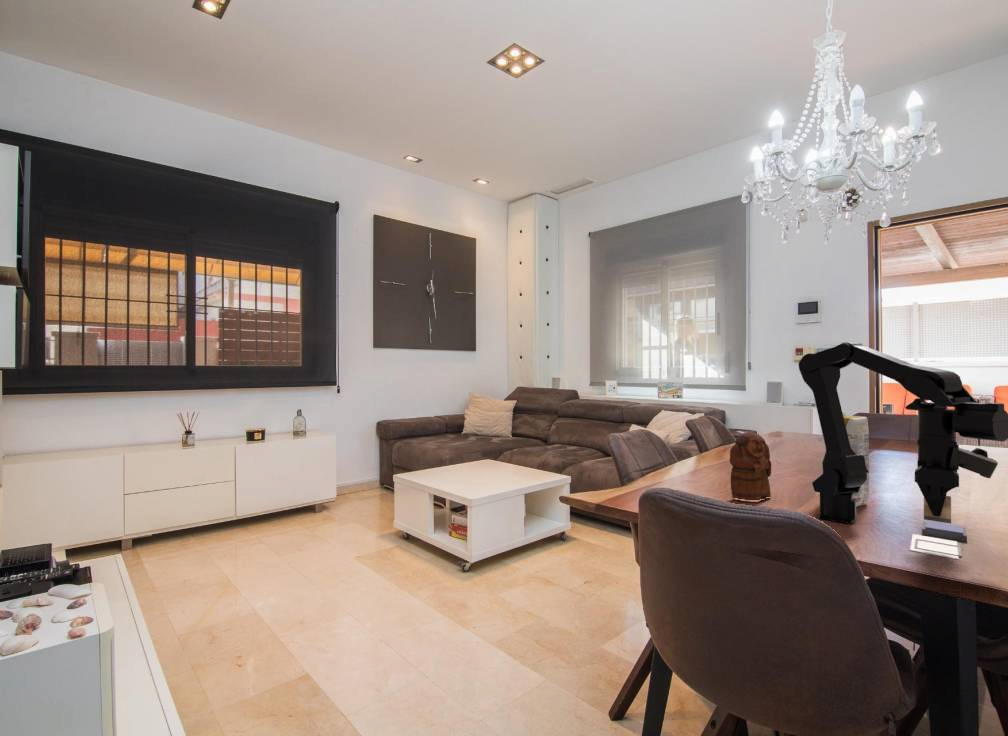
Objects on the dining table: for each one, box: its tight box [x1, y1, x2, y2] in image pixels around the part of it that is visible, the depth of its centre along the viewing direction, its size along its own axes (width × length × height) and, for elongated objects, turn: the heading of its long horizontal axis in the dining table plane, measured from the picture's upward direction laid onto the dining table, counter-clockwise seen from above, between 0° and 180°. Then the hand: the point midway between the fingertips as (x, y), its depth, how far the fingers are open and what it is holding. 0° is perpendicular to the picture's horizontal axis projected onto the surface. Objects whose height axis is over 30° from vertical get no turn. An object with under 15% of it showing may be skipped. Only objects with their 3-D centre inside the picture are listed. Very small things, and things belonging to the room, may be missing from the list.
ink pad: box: [921, 520, 968, 543], centre depth 107 cm, size 7×7×2 cm
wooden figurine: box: [729, 432, 772, 500], centre depth 135 cm, size 12×6×18 cm, turn 119°
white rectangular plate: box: [909, 533, 962, 560], centre depth 99 cm, size 7×12×1 cm, turn 139°
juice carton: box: [824, 411, 870, 508], centre depth 130 cm, size 9×8×24 cm
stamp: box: [923, 495, 952, 524], centre depth 98 cm, size 4×4×6 cm
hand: (936, 513), depth 98 cm, fingers closed on stamp, 4 cm apart
